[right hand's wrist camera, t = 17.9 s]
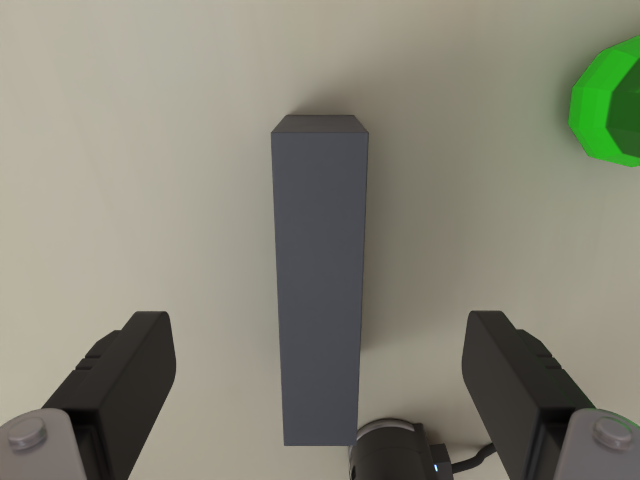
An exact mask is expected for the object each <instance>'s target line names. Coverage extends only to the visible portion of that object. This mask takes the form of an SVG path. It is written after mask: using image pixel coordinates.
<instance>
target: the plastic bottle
mask: <svg viewBox="0 0 640 480" xmlns="http://www.w3.org/2000/svg"><path fill="white" fill-rule="evenodd" d="M568 125H569V126H570V128H571V129H572V131H573V133H574V134H575V136H576V137H577V139H578V140H579V142H580V144H581V145H582V147H583V148H584V150H585V152H586V153H587V155H588V156H590V157H593V158H597V159H601V160H605V161H609V162H613V163H617V164H621V165H625V166H629V167H635V166H639V165H640V35H638V36H636V37H634V38H631V39H629V40H627V41H624V42H622V43H619V44H617V45H615V46H612V47H610V48H607V49H605V50H603V51H602V52H601V53H599V54H598V55H597V56H596V57H595V59H594V60H593V61H592V63H591V64H590V65H589V67H588V68H587V69H586V70H585V72H584V73H583V74H582V76H581V77H580V78H579V80H578V81H577V82H576V83H575V85H574V86H573V87H572V93H571V101H570V109H569V117H568Z"/></svg>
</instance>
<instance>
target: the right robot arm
mask: <svg viewBox="0 0 640 480" xmlns="http://www.w3.org/2000/svg"><path fill="white" fill-rule="evenodd" d="M175 373H176V357H175V350H174V344H173V337H172V330H171V323H170V318H169V315H168V313H167V312H165V311H138V312H135V313H134V314H133V316H132V317H131V318H130V319H129V321H128V322H127V323H126V325H125V326H124V327H123V328H122V330H114V331H113V332H111V333H110V334H108V335H107V336H105V337H103V338H102V339H100V340H99V341H97V342H96V343H95V345H94V346H93V347H92V348H91V349H90V350H89V352H88V353H87V354H86V355H85V358H83V359H82V360H81V361H80V362H79V364H78V365H77V366H76V369H75V370H73V371H72V372H71V373H70V374H69V376H68V377H67V378H66V379H65V380H64V382H63V383H62V384H61V385H60V386H59V388H58V389H57V390H56V391H55V392H54V394H53V395H52V396H51V397H50V398H49V400H48V401H47V402H46V403H45V404H44V406H43V407H42V408H41V409H38V410H34V411H30V412H27V413H24V414H22V415H20V416H17V417H15V418H13V419H11V420H10V421H8V422H7V423H5V424H3V425H2V426H1V427H0V480H128V478H129V475H130V473H131V471H132V469H133V467H134V465H135V463H136V461H137V459H138V457H139V454H140V452H141V450H142V448H143V446H144V444H145V442H146V440H147V438H148V435H149V433H150V431H151V429H152V427H153V425H154V423H155V421H156V419H157V417H158V414H159V412H160V410H161V408H162V406H163V404H164V402H165V400H166V398H167V396H168V393H169V391H170V389H171V387H172V385H173V382H174V379H175ZM462 374H463V379H464V382H465V385H466V387H467V389H468V391H469V393H470V395H471V397H472V399H473V402H474V404H475V406H476V408H477V410H478V412H479V414H480V417H481V419H482V421H483V423H484V425H485V427H486V429H487V431H488V434H489V436H490V438H491V440H492V442H493V443H491V444H490V445H488V446H486V447H485V448H483V449H481V450H480V451H479V452H478V453H477V455H476V456H474V457H473V458H470V459H468V460H465V461H461V462H458V463H454V464H451V461H450V458H449V455H448V452H447V449H446V446H445V444H444V443H443V444H437V445H431V446H429V444H428V441H427V438H426V434H425V431H424V427H423V425H422V424H416V425H412V424H410V423H408V422H405V421H401V420H394V419H386V420H379V421H375V422H372V423H370V424H368V425H366V426H364V427H363V428H361V429H360V430H359V431H358V432H357V445H356V446H349V462H350V470H351V478H350V480H351V479H352V480H454V479H453V474H454V473H457V472H461V471H465V470H468V469H471V468H474V467H476V466H478V465H480V464H481V463H482V462H483V460H484V459H485V458H486V457H487V456H489V455H491V454H493V453H494V452H496V451H497V453H498V455H499V457H500V459H501V461H502V463H503V465H504V468H505V470H506V472H507V474H508V476H509V478H510V480H640V427H639V426H638V425H637V424H635V423H633V422H632V421H630V420H629V419H627V418H625V417H623V416H620V415H618V414H616V413H613V412H610V411H606V410H602V409H596V407H595V406H594V405H593V404H592V402H591V401H590V400H589V399H588V398H587V396H586V395H585V394H584V393H583V392H582V390H581V389H580V388H579V387H578V386H577V384H576V383H575V382H574V381H573V380H572V378H571V377H570V376H569V375H568V374H567V372H566V371H565V370H564V369H562V368H561V365H560V364H559V363H558V361H557V360H556V359H555V358H552V354H551V353H550V352H549V351H548V349H547V348H546V347H545V346H544V345H543V343H542V342H541V341H540V340H538V339H537V338H535V337H534V336H532V335H531V334H529V333H528V332H526V331H525V330H523V329H515V327H514V326H513V325H512V323H511V322H510V321H509V319H508V318H507V317H506V316H505V314H504V313H503V312H502V311H471V312H470V313H469V316H468V321H467V328H466V335H465V341H464V348H463V355H462ZM350 470H349V475H350Z"/></svg>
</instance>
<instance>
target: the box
mask: <svg viewBox="0 0 640 480" xmlns="http://www.w3.org/2000/svg"><path fill="white" fill-rule="evenodd" d="M368 136H369V133H368V132H367V130H366V129H365V128H364V127H363V126H362V124H361V123H360V122H359V121H358V120H357V118H356V117H355V116H354V115H286V116H285V117H284V118H283V119H282V121H281V122H280V123H279V124H278V125H277V126H276V128H275V129H274V130H273V131H272V132H271V149H272V172H273V196H274V220H275V243H276V267H277V291H278V315H279V338H280V362H281V386H282V409H283V433H284V446H356V445H357V419H358V393H359V367H360V342H361V316H362V290H363V264H364V239H365V213H366V187H367V161H368Z"/></svg>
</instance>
